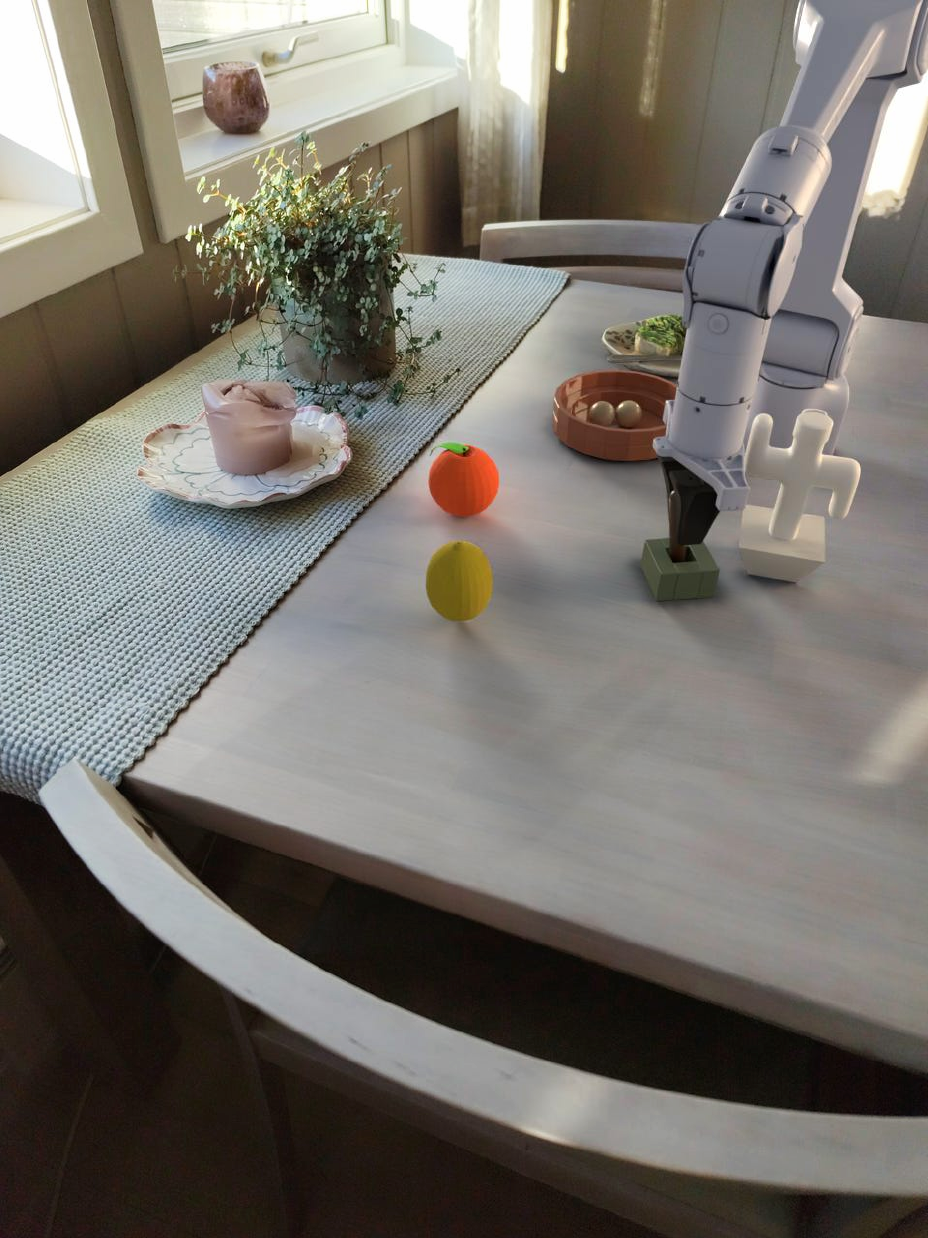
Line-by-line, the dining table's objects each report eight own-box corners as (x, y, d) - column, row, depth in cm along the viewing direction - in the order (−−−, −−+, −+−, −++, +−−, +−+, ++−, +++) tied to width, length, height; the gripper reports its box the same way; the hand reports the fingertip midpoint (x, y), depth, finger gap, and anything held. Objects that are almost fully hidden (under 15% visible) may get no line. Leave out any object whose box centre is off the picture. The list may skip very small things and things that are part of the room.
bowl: (663, 397, 106) (668, 366, 103) (704, 460, 94) (711, 427, 92) (541, 404, 104) (543, 372, 102) (567, 468, 93) (570, 435, 90)
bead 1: (618, 414, 99) (622, 406, 96) (604, 436, 99) (607, 428, 96) (596, 400, 100) (599, 392, 97) (582, 422, 100) (584, 414, 97)
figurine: (826, 597, 76) (880, 446, 66) (717, 578, 78) (753, 428, 69) (826, 551, 81) (875, 404, 72) (723, 534, 84) (758, 389, 74)
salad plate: (642, 398, 105) (647, 362, 102) (567, 344, 118) (570, 310, 115) (767, 369, 112) (776, 335, 109) (684, 321, 124) (689, 289, 121)
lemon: (425, 600, 76) (422, 524, 71) (488, 597, 76) (490, 521, 71) (428, 642, 72) (426, 565, 66) (495, 639, 72) (497, 561, 67)
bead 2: (649, 418, 97) (643, 395, 98) (627, 417, 96) (620, 394, 97) (635, 433, 100) (629, 410, 101) (613, 432, 98) (607, 409, 99)
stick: (671, 564, 78) (672, 484, 72) (687, 566, 77) (688, 486, 72) (666, 573, 77) (667, 493, 71) (682, 576, 76) (684, 495, 71)
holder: (694, 562, 80) (700, 535, 78) (713, 597, 76) (720, 570, 74) (639, 566, 80) (644, 539, 78) (656, 601, 76) (661, 574, 74)
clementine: (407, 508, 87) (404, 445, 82) (452, 481, 91) (452, 419, 86) (467, 539, 83) (467, 474, 78) (512, 509, 87) (515, 446, 82)
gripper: (638, 352, 71) (618, 493, 80) (695, 437, 60) (665, 591, 69) (721, 348, 72) (692, 489, 80) (792, 432, 61) (750, 584, 69)
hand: (685, 535), depth 75 cm, fingers closed on stick, 1 cm apart
